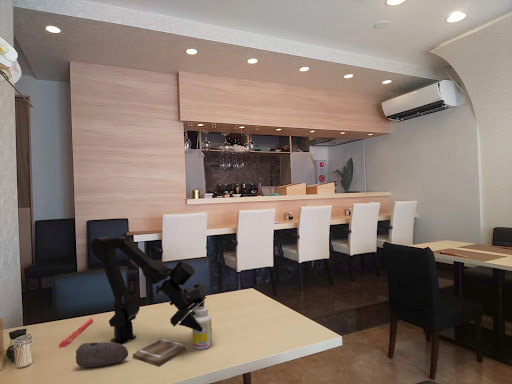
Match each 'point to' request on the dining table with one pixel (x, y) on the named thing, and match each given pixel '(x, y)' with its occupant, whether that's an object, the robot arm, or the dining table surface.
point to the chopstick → (75, 333)
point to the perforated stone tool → (100, 354)
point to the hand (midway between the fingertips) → (205, 326)
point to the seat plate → (159, 352)
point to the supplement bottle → (205, 336)
